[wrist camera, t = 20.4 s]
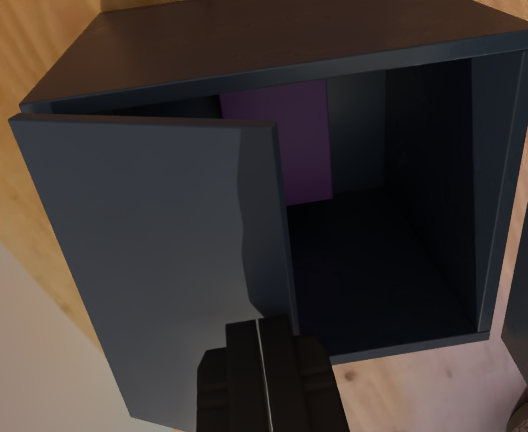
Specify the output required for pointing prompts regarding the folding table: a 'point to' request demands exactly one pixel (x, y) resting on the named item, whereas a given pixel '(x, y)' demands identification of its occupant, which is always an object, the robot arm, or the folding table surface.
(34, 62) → the folding table surface
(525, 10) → the folding table surface
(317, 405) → the robot arm
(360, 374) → the folding table surface
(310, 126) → the block
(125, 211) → the box flap
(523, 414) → the planter
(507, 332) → the bin
